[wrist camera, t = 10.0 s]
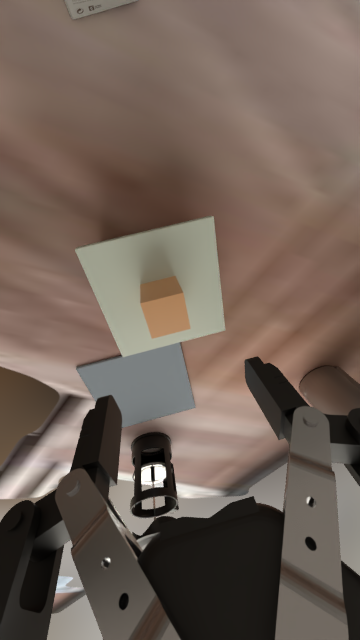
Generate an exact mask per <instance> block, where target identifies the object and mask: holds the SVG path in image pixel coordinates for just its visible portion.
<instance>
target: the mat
mask: <svg viewBox="0 0 360 640" xmlns="http://www.w3.org/2000/svg"><path fill="white" fill-rule="evenodd" d="M76 370H77V372H78V373H79V375H80V376H81V378H82V380H83V381H84V383H85V385H86V386H87V388H88V390H89V391H90V393H91V394H92V396H93V398H94V399H95V401H97V399H98V398H100V397H104V396H107V395H112V396H113V397H114V399H115V401H116V403H117V405H118V407H119V409H120V411H121V414H122V428H124V427H127V426H131V425H134V424H138V423H142V422H145V421H149V420H153V419H156V418H160V417H164V416H167V415H171V414H174V413H178V412H182V411H185V410H189V409H193V408H195V404H194V400H193V395H192V391H191V387H190V383H189V379H188V375H187V370H186V366H185V362H184V358H183V354H182V349H181V345H180V342H179V343H175V344H171V345H168V346H164V347H160V348H156V349H152V350H149V351H145V352H141V353H137V354H133V355H130V356H126V357H122V356H118V357H114V358H110V359H106V360H102V361H98V362H95V363H91V364H87V365H83V366H79V367H77V368H76Z"/></svg>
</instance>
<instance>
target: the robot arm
mask: <svg viewBox="0 0 360 640" xmlns="http://www.w3.org/2000/svg"><path fill="white" fill-rule="evenodd" d="M245 379H246V383H247V385H248V387H249V389H250V391H251V393H252V394H253V396H254V398H255V400H256V401H257V403H258V405H259V406H260V408H261V410H262V412H263V413H264V415H265V417H266V419H267V420H268V422H269V424H270V425H271V427H272V429H273V431H274V432H275V434H276V436H277V437H278V439H279V440H280V439H284V438H286V440H287V441H288V443H289V453H288V464H287V474H286V485H285V494H284V504H283V512H281V511H280V510H278V509H276V508H274V507H272V506H269V505H266V504H261V503H256V502H255V499H254V496H252V497H249V498H245V499H242V500H239V501H236V502H232V503H230V504H229V505H227V506H226V507H224V508H223V509H221V510H220V511H219V512H217V513H216V514H214V515H213V516H212V517H210V518H194V517H181V518H178V519H174V520H171V521H167V522H164V523H161V524H160V532H159V533H158V534H157V535H155V536H154V537H153V538H152V539H151V540H150V542H149V543H148V544H147V545H146V547H145V548H144V550H142V548H141V547H140V545H139V543H138V542H137V541H136V539H135V538H134V536H133V535H132V534H131V532H130V531H129V529H128V528H127V526H126V525H125V523H124V521H123V520H122V518H121V516H120V515H119V513H118V512H117V510H116V508H115V507H114V505H113V503H112V502H111V500H110V499H109V497H108V494H109V487H111V486H115V485H117V477H118V465H119V454H120V442H121V431H122V414H121V411H120V409H119V407H118V405H117V403H116V401H115V399H114V397H113V396H112V395H107V396H104V397H100V398H98V399H97V401H96V405H95V409H92V410H89V412H88V414H87V415H86V417H85V418H84V421H83V425H82V430H81V432H80V436H79V437H80V438H79V440H78V444H77V448H76V451H75V455H74V459H73V463H72V467H71V470H70V472H69V473H68V474H67V475H66V476H65V477H64V478H63V479H62V480H61V482H60V483H59V485H58V487H57V489H56V490H55V491H53V492H52V493H50V494H48V495H47V496H45V497H44V498H42V499H41V500H39V501H37V502H36V503H33V502H31V501H29V500H25V501H22V502H19V503H18V504H16V505H15V506H13V507H12V508H11V509H10V510H9V511H8V512H7V513H6V515H5V516H4V517H3V519H2V520H1V522H0V640H47V635H48V629H49V624H50V618H51V613H52V608H53V602H54V597H55V591H56V586H57V581H58V575H59V569H60V564H61V559H62V553H63V548H64V544H65V543H67V542H68V541H70V540H71V541H72V544H73V547H72V548H71V554H72V558H73V561H74V563H75V566H76V569H77V571H78V574H79V576H80V579H81V582H82V584H83V587H84V589H85V592H86V595H87V597H88V600H89V602H90V605H91V607H92V610H93V613H94V616H95V618H96V621H97V623H98V626H99V629H100V631H101V634H102V637H103V640H360V576H359V575H358V574H357V573H356V572H354V571H353V570H352V569H351V568H350V567H348V566H347V565H346V564H345V563H344V562H343V561H341V556H340V542H339V526H338V510H337V495H336V480H335V474H334V472H333V471H332V467H331V462H332V463H343V464H344V465H345V467H346V468H347V469H348V471H349V472H350V474H351V475H352V476H353V478H354V479H355V481H356V482H357V483H358V485H359V486H360V384H359V383H358V382H356V381H355V380H354V379H353V378H352V377H350V376H349V375H348V374H347V373H346V372H344V371H343V370H342V369H341V368H340V367H336V368H334V367H331V366H324V367H320V368H317V369H315V370H313V371H311V372H310V373H309V374H307V375H306V376H305V377H304V379H303V380H302V381H301V383H300V387H299V389H300V392H301V393H302V394H303V395H304V397H305V398H306V399H307V400H308V401H309V403H310V404H311V405H312V406H313V407H310V406H309V405H308V404H307V403H306V402H305V401H304V399H303V398H302V397H301V396H300V394H299V393H298V392H297V391H296V390H295V388H294V387H293V386H292V385H291V384H290V382H288V380H287V379H286V378H285V376H283V374H282V373H281V371H280V370H279V369H278V368H277V367H275V366H274V365H272V364H270V363H266V364H264V363H263V362H262V361H261V359H260V358H259V357H253V358H249V359H246V360H245Z"/></svg>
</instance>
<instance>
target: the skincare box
mask: <svg viewBox="0 0 360 640" xmlns="http://www.w3.org/2000/svg"><path fill="white" fill-rule="evenodd" d="M64 1H65V4H66V6H67V9H68V12H69V14H70V17H71V18H72V19H78V18H81V17H85V16H88V15H92V14H95V13H99V12H102V11H105V10H109V9H112V8H115V7H118V6H121V5H125V4H128V3H132V2H135V1H138V0H64Z"/></svg>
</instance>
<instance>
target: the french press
mask: <svg viewBox="0 0 360 640" xmlns="http://www.w3.org/2000/svg"><path fill="white" fill-rule="evenodd" d="M150 448H162V449H163V450H161V451H160V452H157V453H154V454H143V453H141V451H143V450H146V449H150ZM131 450H132V464H133V466H134V467H135V471H134V474H133V480H134V481H135V484H134V497H133V498H132V500H131V503H130V512H131V514H132V515H133V516H135V517H138V518H153V517H154V521H153V522H152V524H151V525H150V526H149V528H148V529H147V530H146V531H145V532H144V533H143V535H141V536H139V535H136V534H135V533H133V532H132V535H133V536H134V538H135V539H136V541H137V542H138V543H139V545H140V547H141V548H142V550H144V548H145V547H146V545H147V544H148V543H149V542H150V540H151V539H152V538H153V537H154V536H155V535H157V534H158V533H159V532H160V524H161V523H164V522H167V521H171V520H174V519H176V518H173V517H168V516H161V515H164V514H167V513H174V512H176V511H177V510H178V509H179V507H178V499H177V491H176V483H175V475H174V468H173V464H172V463H171V462H170V460H171V458H172V453H171V440H170V438H169V437H168V436H167V435H165V434H163V433H157V432H154V433H147V434H144V435H141V436H139V437H138V438H136V439H135V440H134V441H133V443H132V445H131ZM162 481H163V485H164V487H157V488H154V484H157V483H160V482H162ZM142 484H143V485H152V486H153V488H151V489H148V490H144V491H142V489H141V487H142ZM157 496H165V506H162V507H159V508H155V497H157ZM151 497H153V508H154V509H148V510H144V509H142V500H145V499H147V498H151ZM134 505H135V507H134ZM158 516H161V517H159V518H156V517H158Z"/></svg>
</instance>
